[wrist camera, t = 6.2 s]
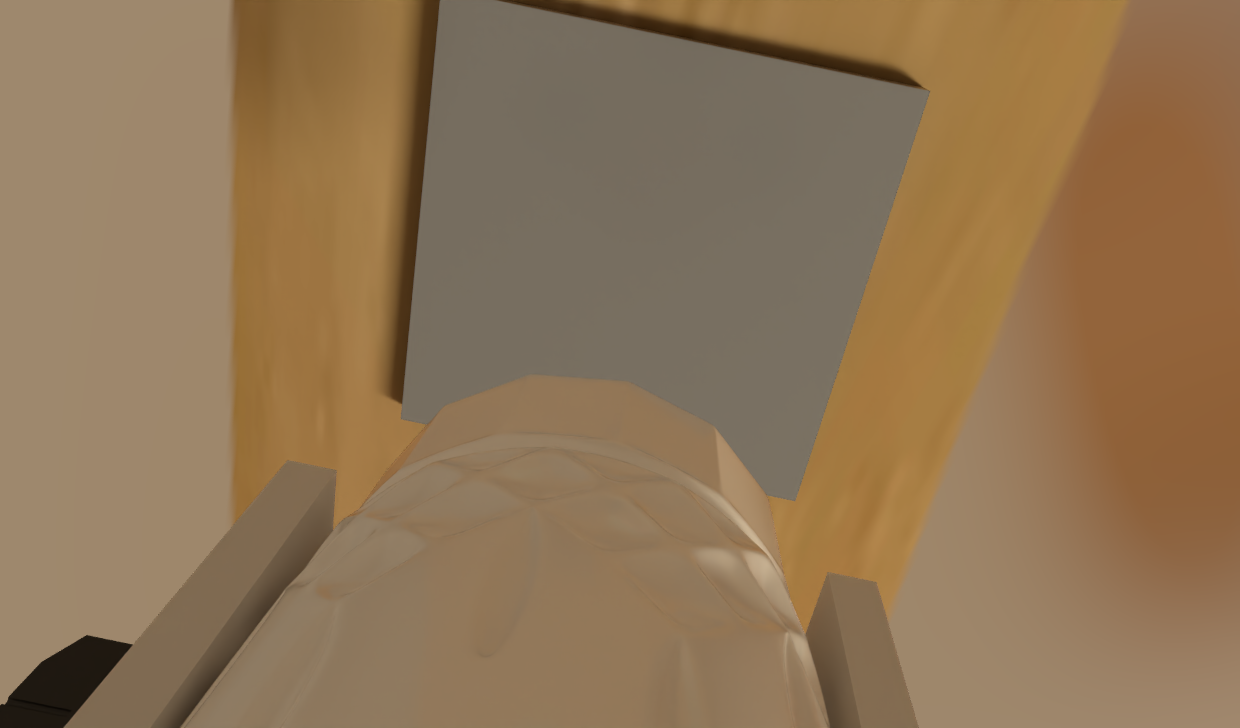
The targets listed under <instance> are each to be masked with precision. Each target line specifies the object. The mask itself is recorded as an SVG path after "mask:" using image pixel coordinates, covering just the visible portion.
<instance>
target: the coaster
mask: <svg viewBox="0 0 1240 728" xmlns="http://www.w3.org/2000/svg"><path fill="white" fill-rule="evenodd" d="M929 93H930V91H929V90H927V89H925V88H923V87H919V86H914V85H909V84H904V83H900V82H895V81H890V80H885V79H880V78H876V77H871V76H866V75H861V74H857V73H852V72H847V71H842V70H837V69H833V68H828V67H823V66H818V65H814V64H809V63H804V62H799V61H794V60H790V59H785V58H780V57H775V56H771V55H766V54H761V53H756V52H751V51H747V50H742V49H737V48H732V47H728V46H723V45H718V44H713V43H708V42H704V41H699V40H694V39H689V38H685V37H680V36H675V35H670V34H665V33H661V32H656V31H651V30H646V29H642V28H637V27H632V26H627V25H622V24H618V23H613V22H608V21H603V20H599V19H594V18H589V17H584V16H579V15H575V14H570V13H565V12H560V11H556V10H551V9H546V8H541V7H536V6H532V5H527V4H522V3H517V2H513V1H508V0H440V5H439V16H438V26H437V37H436V48H435V59H434V69H433V80H432V91H431V101H430V112H429V123H428V134H427V144H426V155H425V166H424V176H423V187H422V198H421V209H420V219H419V230H418V241H417V251H416V262H415V273H414V284H413V294H412V305H411V316H410V326H409V337H408V348H407V358H406V369H405V380H404V391H403V401H402V412H401V419H403V420H408V421H412V422H417V423H422V424H428V423H429V422H430V421H431V420H432V418H433V417H434V416H435V415H436V414H437V413H438V412H439V411H440V410H441V408H442V407H444V406H445V405H448V404H450V403H453V402H456V401H458V400H461V399H464V398H466V397H469V396H472V395H475V394H477V393H480V392H483V391H485V390H488V389H491V388H494V387H496V386H499V385H502V384H504V383H507V382H510V381H513V380H515V379H518V378H521V377H523V376H526V375H529V374H539V375H552V376H566V377H580V378H594V379H607V380H621V381H629V382H631V383H633V384H635V385H637V386H639V387H641V388H643V389H644V390H646V391H648V392H650V393H652V394H654V395H656V396H658V397H660V398H662V399H664V400H666V401H668V402H670V403H671V404H673V405H675V406H677V407H679V408H681V409H683V410H685V411H687V412H689V413H691V414H693V415H695V416H697V417H699V418H701V419H702V420H704V421H706V422H708V423H710V424H712V425H713V426H715V428H716V429H717V430H718V431H719V433H720V434H721V435H722V437H723V438H724V439H725V441H726V442H727V443H728V445H729V446H730V447H731V449H732V450H733V451H734V453H735V454H736V455H737V456H738V458H739V459H740V460H741V462H742V463H743V464H744V466H745V467H746V468H747V470H748V471H749V472H750V474H751V475H752V476H753V478H754V479H755V480H756V482H757V483H758V484H759V485H760V487H761V488H762V489H763V491H764V492H765V493H766V495H768V496H773V497H778V498H783V499H787V500H792V501H795V500H796V497H797V494H798V491H799V488H800V485H801V482H802V479H803V476H804V473H805V470H806V467H807V464H808V461H809V458H810V455H811V451H812V448H813V445H814V442H815V439H816V436H817V433H818V430H819V427H820V424H821V421H822V418H823V415H824V412H825V409H826V406H827V403H828V400H829V397H830V394H831V391H832V388H833V385H834V382H835V379H836V376H837V372H838V369H839V366H840V363H841V360H842V357H843V354H844V351H845V348H846V345H847V342H848V339H849V336H850V333H851V330H852V327H853V324H854V321H855V318H856V315H857V312H858V309H859V306H860V303H861V300H862V297H863V293H864V290H865V287H866V284H867V281H868V278H869V275H870V272H871V269H872V266H873V263H874V260H875V257H876V254H877V251H878V248H879V245H880V242H881V239H882V236H883V233H884V230H885V227H886V224H887V221H888V218H889V214H890V211H891V208H892V205H893V202H894V199H895V196H896V193H897V190H898V187H899V184H900V181H901V178H902V175H903V172H904V169H905V166H906V163H907V160H908V157H909V154H910V151H911V148H912V145H913V142H914V139H915V136H916V132H917V129H918V126H919V123H920V120H921V117H922V114H923V111H924V108H925V105H926V102H927V99H928V96H929Z"/></svg>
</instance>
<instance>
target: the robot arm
mask: <svg viewBox="0 0 1240 728" xmlns="http://www.w3.org/2000/svg"><path fill="white" fill-rule="evenodd" d="M335 486H336V470H333V469H328V468H323V467H318V466H313V465H309V464H304V463H299V462H294V461H289V460H288V461H287V462H286V463H285V464H284V465H283V466H282V468H281V469H280V470H279V471H278V472H277V474H276V475H275V476H274V477H273V478H272V480H271V481H270V482H269V483H268V484H267V486H266V487H265V488H264V489H263V490H262V492H261V493H260V494H259V495H258V496H257V497H256V499H255V500H254V501H253V502H252V503H251V505H250V506H249V507H248V508H247V509H246V511H245V512H244V513H243V514H242V515H241V517H240V518H239V519H238V520H237V521H236V523H235V524H234V525H233V526H232V527H231V529H230V530H229V531H228V532H227V533H226V534H225V536H224V537H223V538H222V539H221V540H220V542H219V543H218V544H217V545H216V546H215V548H214V549H213V550H212V551H211V552H210V554H209V555H208V556H207V557H206V558H205V560H204V561H203V562H202V563H201V564H200V566H199V567H198V568H197V569H196V571H195V572H194V573H193V574H192V575H191V576H190V577H189V579H188V580H187V581H186V582H185V583H184V585H183V586H182V587H181V588H180V589H179V591H178V592H177V593H176V594H175V596H174V597H173V598H172V599H171V600H170V601H169V602H168V604H167V605H166V606H165V607H164V609H163V610H162V611H161V612H160V614H158V616H157V617H156V618H155V619H154V621H153V622H152V623H151V624H150V625H149V627H148V628H147V629H146V630H145V631H144V632H143V634H142V635H141V636H140V637H139V638H138V640H137V641H136V642H135V643H134V644H133V645H132V644H127V643H122V642H117V641H113V640H107V639H103V638H98V637H93V636H88V635H86V636H85V637H83V638H81V639H79V640H78V641H76V642H75V643H73V644H71V645H70V646H68V647H66V648H64V649H63V650H61V651H59V652H58V653H56V654H54V655H52V656H51V657H49V658H47V659H46V660H44V661H42V662H41V663H40V664H39V665H38V666H37V667H36V668H35V669H34V671H33V672H32V673H31V674H30V675H29V676H28V677H27V678H26V679H25V680H24V681H23V682H22V683H21V684H20V685H19V686H18V687H17V689H16V690H15V691H14V692H13V693H12V694H11V695H10V696H9V697H8V701H7V703H6V704H5V705H4V704H1V705H0V728H180V727H181V725H182V724H183V723H184V721H185V720H186V719H187V717H188V716H189V715H190V713H191V712H192V711H193V709H194V708H195V707H196V705H197V704H198V703H199V701H200V700H201V699H202V697H203V696H204V695H205V693H206V692H207V691H208V689H209V688H210V687H211V685H212V684H213V683H214V681H215V680H216V679H217V677H218V676H219V675H220V673H221V672H222V671H223V669H224V668H225V667H226V665H227V664H228V663H229V662H230V660H231V659H232V658H233V656H234V655H235V654H236V652H237V651H238V650H239V648H240V647H241V646H242V644H243V643H244V642H245V640H246V639H247V638H248V637H249V635H250V634H251V633H252V631H253V630H254V629H255V627H256V626H257V625H258V623H259V622H260V621H261V620H262V618H263V617H264V616H265V614H266V613H267V612H268V611H269V609H270V608H271V607H272V606H273V604H274V603H275V602H276V601H277V599H278V598H279V597H280V595H281V594H282V592H283V591H284V589H285V588H286V587H287V586H288V585H289V584H290V583H291V582H292V581H293V580H294V579H295V578H296V577H297V576H298V575H299V574H300V573H301V572H302V571H303V570H304V569H305V567H306V566H307V564H308V563H309V562H310V560H311V559H312V557H313V556H314V555H315V553H316V552H317V550H318V549H319V548H320V546H321V545H322V544H323V543H324V541H325V540H326V539H327V537H328V536H329V535H330V534H331V532H332V531H333V518H334V502H335ZM805 635H806V637H807V639H808V641H809V644H810V651H811V655H812V658H813V662H814V665H815V668H816V672H817V675H818V679H819V683H820V686H821V690H822V694H823V698H824V702H825V706H826V710H827V715H828V719H829V723H830V727H831V728H919V727H918V724H917V720H916V717H915V713H914V710H913V706H912V703H911V700H910V696H909V693H908V689H907V686H906V683H905V679H904V675H903V672H902V669H901V665H900V662H899V658H898V655H897V651H896V648H895V645H894V641H893V638H892V634H891V631H890V628H889V624H888V620H887V617H886V614H885V610H884V607H883V603H882V600H881V596H880V593H879V589H878V586H877V583H876V582H873V581H868V580H863V579H858V578H854V577H849V576H844V575H839V574H834V573H830V572H828V573H827V576H826V579H825V582H824V584H823V587H822V590H821V593H820V595H819V598H818V601H817V604H816V607H815V609H814V612H813V615H812V618H811V620H810V623H809V626H808V629H807V632H806V634H805Z"/></svg>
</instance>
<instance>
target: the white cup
mask: <svg viewBox="0 0 1240 728" xmlns="http://www.w3.org/2000/svg"><path fill="white" fill-rule="evenodd" d="M180 728H831V727H830V723H829V719H828V715H827V710H826V706H825V702H824V698H823V694H822V690H821V686H820V683H819V679H818V675H817V672H816V668H815V665H814V662H813V658H812V655H811V651H810V644H809V641H808V639H807V637H806V635H805V633H804V631H803V628H802V626H801V624H800V621H799V619H798V616H797V614H796V612H795V609H794V607H793V605H792V602H791V599H790V595H789V591H788V587H787V583H786V580H785V576H784V572H783V567H782V562H781V557H780V552H779V547H778V542H777V537H776V532H775V527H774V522H773V517H772V512H771V507H770V503H769V499H768V497H767V495H766V493H765V492H764V491H763V489H762V488H761V487H760V485H759V484H758V483H757V482H756V480H755V479H754V478H753V476H752V475H751V474H750V472H749V471H748V470H747V468H746V467H745V466H744V464H743V463H742V462H741V460H740V459H739V458H738V456H737V455H736V454H735V453H734V451H733V450H732V449H731V447H730V446H729V445H728V443H727V442H726V441H725V439H724V438H723V437H722V435H721V434H720V433H719V431H718V430H717V429H716V428H715V426H713V425H712V424H710V423H708V422H706V421H704V420H702V419H701V418H699V417H697V416H695V415H693V414H691V413H689V412H687V411H685V410H683V409H681V408H679V407H677V406H675V405H673V404H671V403H670V402H668V401H666V400H664V399H662V398H660V397H658V396H656V395H654V394H652V393H650V392H648V391H646V390H644V389H643V388H641V387H639V386H637V385H635V384H633V383H631V382H629V381H621V380H607V379H594V378H580V377H566V376H552V375H539V374H529V375H526V376H523V377H521V378H518V379H515V380H513V381H510V382H507V383H504V384H502V385H499V386H496V387H494V388H491V389H488V390H485V391H483V392H480V393H477V394H475V395H472V396H469V397H466V398H464V399H461V400H458V401H456V402H453V403H450V404H448V405H445V406H444V407H442V408H441V410H440V411H439V412H438V413H437V414H436V415H435V416H434V417H433V418H432V420H431V421H430V422H429V423H428V424H427V425H426V426H425V427H424V429H423V430H422V431H421V432H420V433H419V434H418V435H417V436H416V437H415V439H414V440H413V441H412V442H411V443H410V444H409V445H408V446H407V448H406V449H405V450H404V451H403V452H402V453H401V454H400V455H399V457H398V458H397V459H396V460H395V461H394V462H393V463H392V464H391V465H390V467H389V468H388V469H387V470H386V472H385V473H384V474H383V476H382V477H381V479H380V480H379V481H378V483H377V484H376V486H375V487H374V488H373V490H372V491H371V493H370V494H369V495H368V497H367V498H366V500H365V501H364V503H363V504H362V505H361V507H360V508H359V509H358V510H357V511H355V512H354V513H352V514H351V515H349V516H347V517H346V518H344V519H343V520H342V521H341V522H340V523H339V524H338V525H337V526H336V527H335V529H334V530H333V531H332V532H331V534H330V535H329V536H328V537H327V539H326V540H325V541H324V543H323V544H322V545H321V546H320V548H319V549H318V550H317V552H316V553H315V555H314V556H313V557H312V559H311V560H310V562H309V563H308V564H307V566H306V567H305V569H304V570H303V571H302V572H301V573H300V574H299V575H298V576H297V577H296V578H295V579H294V580H293V581H292V582H291V583H290V584H289V585H288V586H287V587H286V588H285V589H284V591H283V592H282V594H281V595H280V597H279V598H278V599H277V601H276V602H275V603H274V604H273V606H272V607H271V608H270V609H269V611H268V612H267V613H266V614H265V616H264V617H263V618H262V620H261V621H260V622H259V623H258V625H257V626H256V627H255V629H254V630H253V631H252V633H251V634H250V635H249V637H248V638H247V639H246V640H245V642H244V643H243V644H242V646H241V647H240V648H239V650H238V651H237V652H236V654H235V655H234V656H233V658H232V659H231V660H230V662H229V663H228V664H227V665H226V667H225V668H224V669H223V671H222V672H221V673H220V675H219V676H218V677H217V679H216V680H215V681H214V683H213V684H212V685H211V687H210V688H209V689H208V691H207V692H206V693H205V695H204V696H203V697H202V699H201V700H200V701H199V703H198V704H197V705H196V707H195V708H194V709H193V711H192V712H191V713H190V715H189V716H188V717H187V719H186V720H185V721H184V723H183V724H182V725H181V727H180Z"/></svg>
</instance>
